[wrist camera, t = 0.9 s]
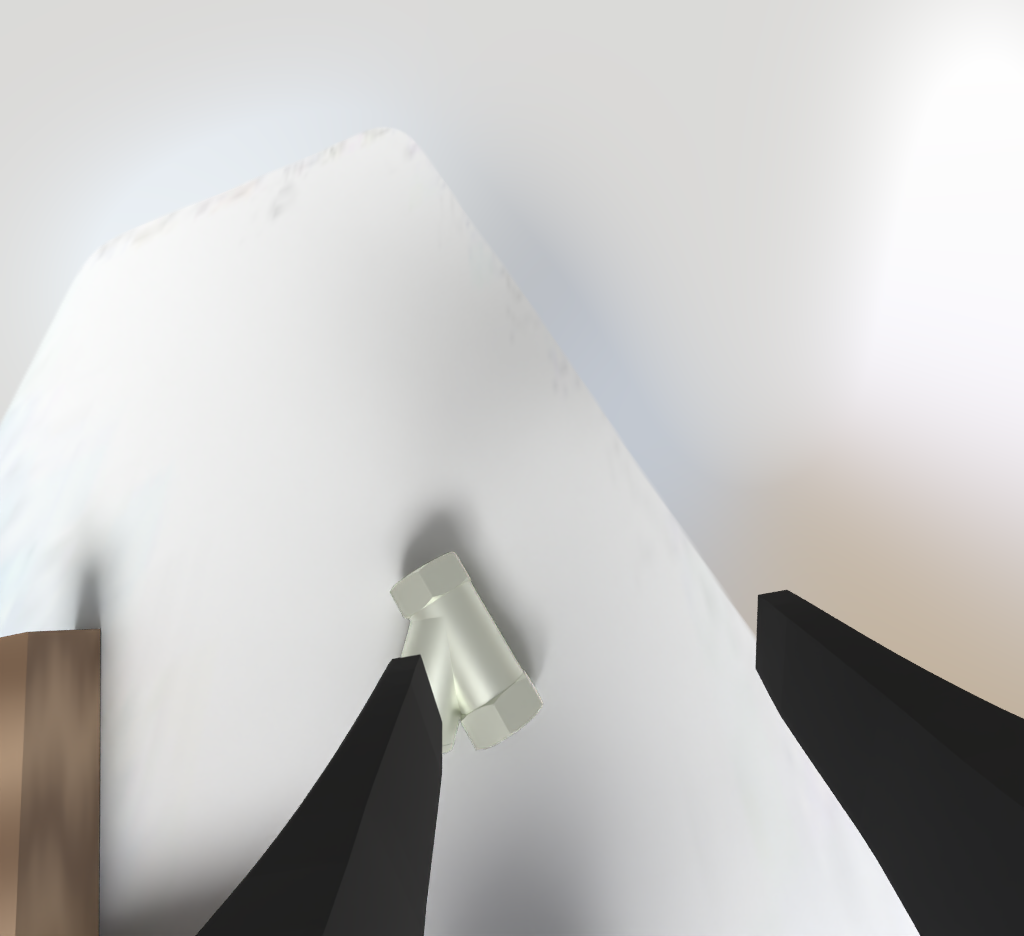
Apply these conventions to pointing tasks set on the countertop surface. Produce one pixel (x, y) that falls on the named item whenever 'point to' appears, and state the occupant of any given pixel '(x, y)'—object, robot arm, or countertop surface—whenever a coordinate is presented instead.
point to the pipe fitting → (464, 655)
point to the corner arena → (49, 783)
